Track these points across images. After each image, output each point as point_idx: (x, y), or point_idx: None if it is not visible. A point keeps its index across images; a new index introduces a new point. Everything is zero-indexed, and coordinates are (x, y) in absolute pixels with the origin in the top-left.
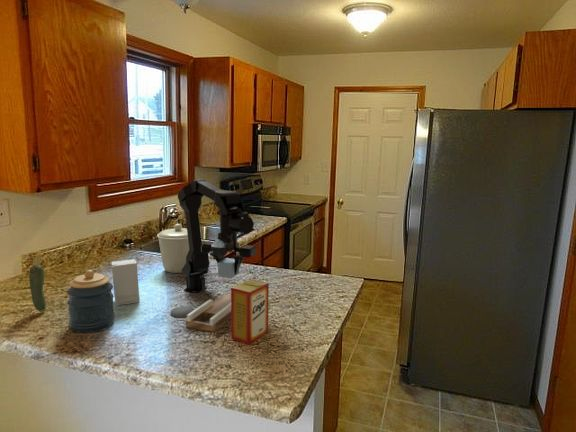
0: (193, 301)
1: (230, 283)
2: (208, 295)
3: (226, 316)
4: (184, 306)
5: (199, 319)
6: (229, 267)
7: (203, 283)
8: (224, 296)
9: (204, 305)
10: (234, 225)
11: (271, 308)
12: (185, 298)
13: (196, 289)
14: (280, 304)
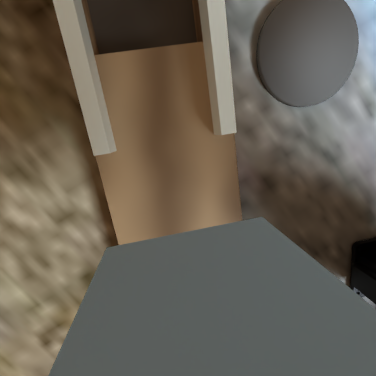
0: (327, 172)
1: None
2: (307, 246)
3: None
4: (329, 96)
5: (193, 12)
6: (96, 369)
7: (372, 288)
8: None
9: (211, 44)
10: None
11: (18, 279)
12: (369, 179)
13: (372, 253)
14: (17, 326)
